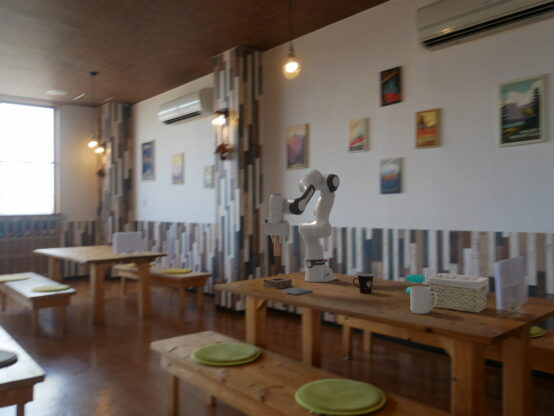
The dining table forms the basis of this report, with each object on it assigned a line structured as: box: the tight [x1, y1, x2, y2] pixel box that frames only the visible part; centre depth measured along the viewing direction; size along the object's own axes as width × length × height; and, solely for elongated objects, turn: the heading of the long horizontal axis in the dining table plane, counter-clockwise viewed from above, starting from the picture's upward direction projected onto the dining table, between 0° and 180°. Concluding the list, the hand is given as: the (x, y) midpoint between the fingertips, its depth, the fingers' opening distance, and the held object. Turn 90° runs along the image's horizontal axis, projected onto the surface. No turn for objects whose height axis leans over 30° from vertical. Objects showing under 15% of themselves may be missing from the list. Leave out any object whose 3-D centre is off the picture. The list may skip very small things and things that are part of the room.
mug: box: [409, 285, 437, 315], centre depth 204 cm, size 12×9×11 cm
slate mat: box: [277, 286, 313, 297], centre depth 257 cm, size 14×14×1 cm
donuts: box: [405, 273, 426, 295], centre depth 247 cm, size 10×10×10 cm
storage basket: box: [427, 272, 489, 314], centre depth 213 cm, size 24×16×15 cm
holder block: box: [263, 277, 293, 290], centre depth 271 cm, size 12×12×5 cm
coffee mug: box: [352, 273, 374, 295], centre depth 252 cm, size 12×9×10 cm
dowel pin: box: [273, 236, 282, 257], centre depth 271 cm, size 4×4×12 cm
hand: (277, 243), depth 271 cm, fingers closed on dowel pin, 4 cm apart
